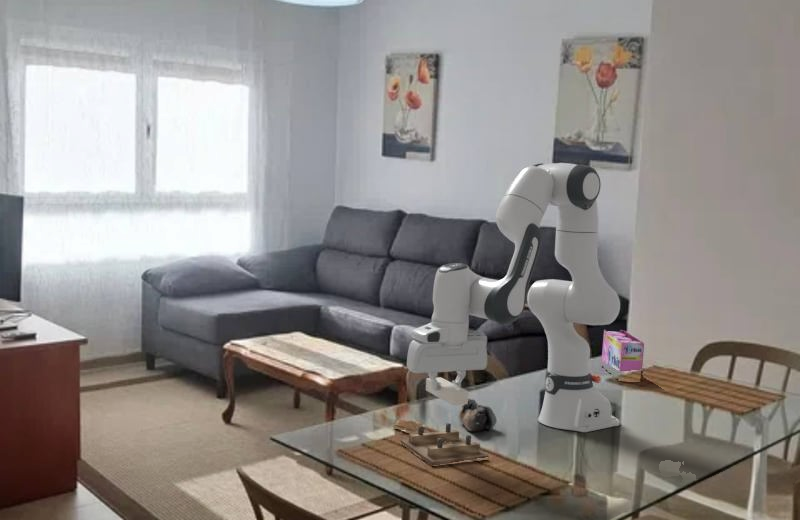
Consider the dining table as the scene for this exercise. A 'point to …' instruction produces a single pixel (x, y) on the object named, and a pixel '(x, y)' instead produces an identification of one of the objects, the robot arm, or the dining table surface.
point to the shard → (407, 425)
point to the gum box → (622, 351)
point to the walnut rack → (443, 446)
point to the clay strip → (448, 392)
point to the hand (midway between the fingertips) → (446, 389)
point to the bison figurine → (477, 416)
